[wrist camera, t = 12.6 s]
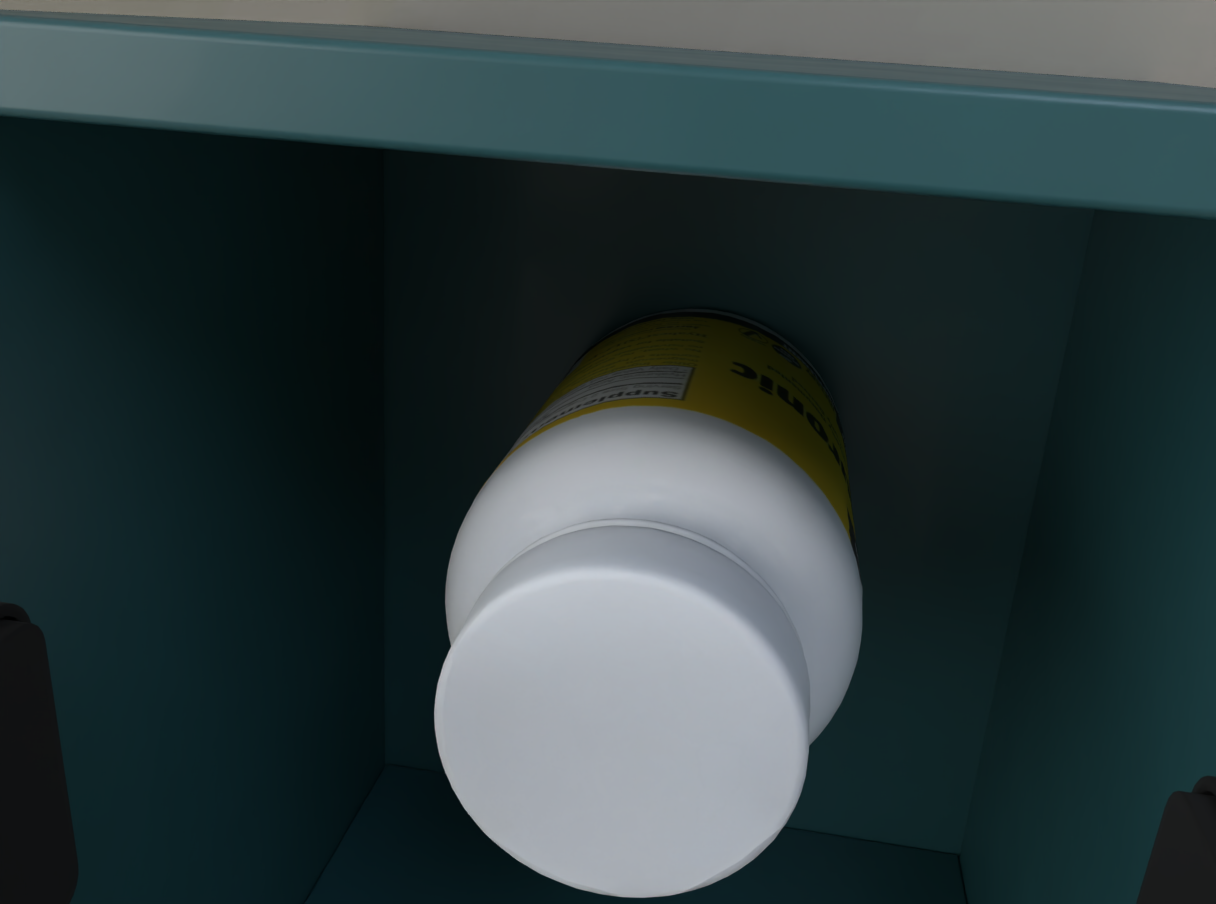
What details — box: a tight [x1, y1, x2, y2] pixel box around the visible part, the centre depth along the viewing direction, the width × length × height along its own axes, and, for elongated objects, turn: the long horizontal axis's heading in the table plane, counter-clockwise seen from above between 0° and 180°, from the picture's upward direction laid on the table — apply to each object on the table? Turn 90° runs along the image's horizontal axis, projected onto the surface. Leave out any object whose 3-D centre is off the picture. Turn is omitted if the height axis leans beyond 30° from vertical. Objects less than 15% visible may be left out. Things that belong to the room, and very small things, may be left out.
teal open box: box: [0, 10, 1216, 904], centre depth 17 cm, size 16×14×12 cm
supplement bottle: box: [434, 309, 863, 898], centre depth 16 cm, size 5×5×10 cm
